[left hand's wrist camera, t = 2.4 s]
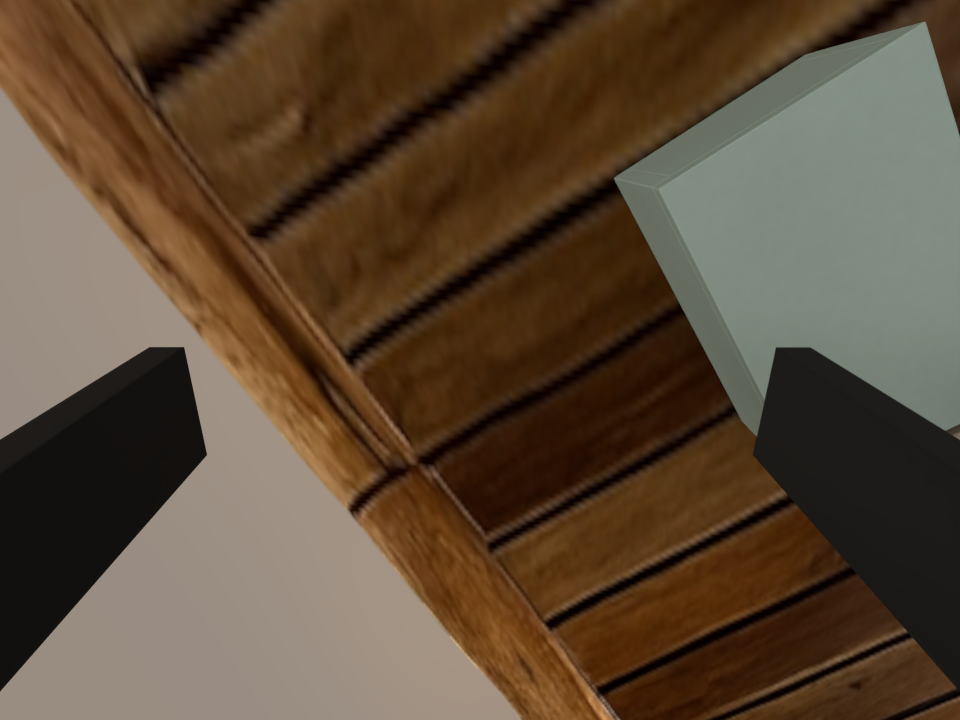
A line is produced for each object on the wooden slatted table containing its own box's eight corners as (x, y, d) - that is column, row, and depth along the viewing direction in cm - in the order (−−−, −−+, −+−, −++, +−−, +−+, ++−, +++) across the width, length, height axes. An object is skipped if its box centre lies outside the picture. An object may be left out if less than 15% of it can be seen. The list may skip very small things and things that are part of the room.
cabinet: (911, 333, 33) (1035, 388, 26) (741, 421, 35) (812, 495, 28) (805, 53, 28) (926, 20, 20) (613, 177, 30) (657, 189, 22)
